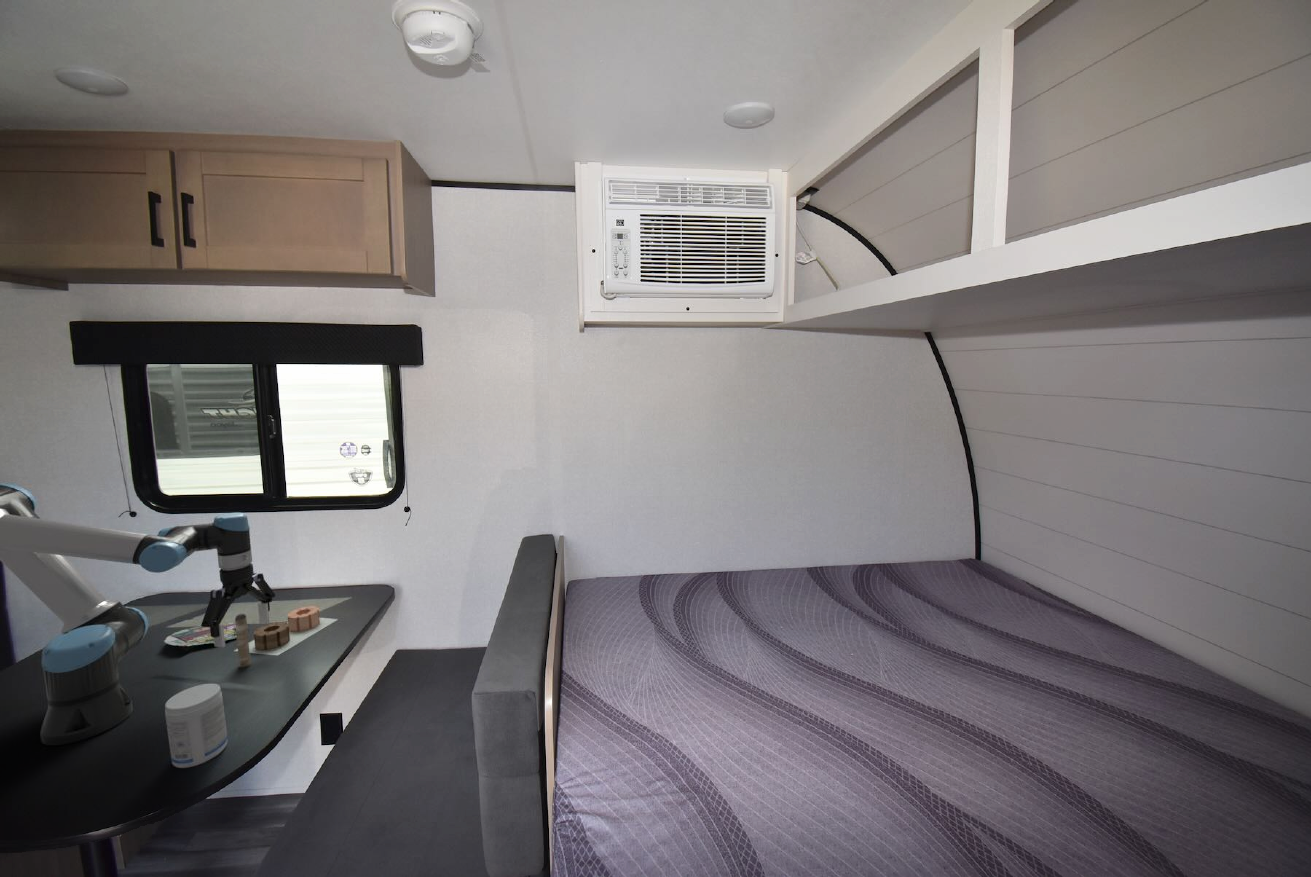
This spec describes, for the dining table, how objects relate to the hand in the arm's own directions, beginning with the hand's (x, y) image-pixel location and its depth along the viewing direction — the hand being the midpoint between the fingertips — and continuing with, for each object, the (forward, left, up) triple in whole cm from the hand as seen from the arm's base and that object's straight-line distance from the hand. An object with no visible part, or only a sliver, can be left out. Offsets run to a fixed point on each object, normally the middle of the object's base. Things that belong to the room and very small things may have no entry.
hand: (243, 634), depth 146 cm
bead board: (+18, +3, -11) cm, 21 cm away
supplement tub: (-31, -23, -11) cm, 40 cm away
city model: (+14, +28, -12) cm, 34 cm away
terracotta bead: (+24, +3, -10) cm, 26 cm away
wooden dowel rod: (0, 0, -11) cm, 11 cm away
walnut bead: (+12, +3, -10) cm, 16 cm away
